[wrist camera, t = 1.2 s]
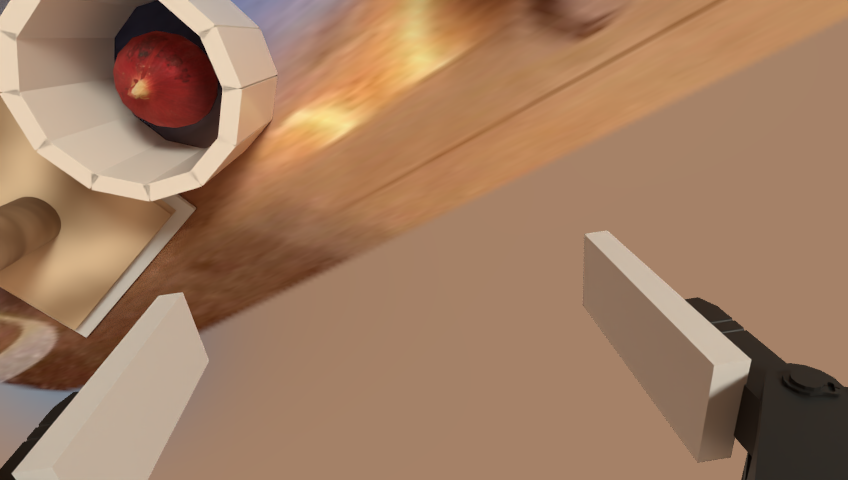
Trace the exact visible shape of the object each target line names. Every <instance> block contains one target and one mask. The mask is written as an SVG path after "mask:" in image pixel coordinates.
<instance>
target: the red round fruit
mask: <svg viewBox="0 0 848 480" xmlns="http://www.w3.org/2000/svg"><path fill="white" fill-rule="evenodd" d="M113 75H114V81H115V88H116V90H117V92H118V94H119V96H120V98H121V100H122V102H123V104H124V105H125V106H126V107H128V108H129V109H130V110H131V111H132V112H133V113H134V114H135V115H136V116H138V117H140V118H142V119H144V120H146V121H148V122H150V123H152V124H154V125H156V126H165V127H173V128H179V127H183V126H187V125H191V124H195V123H197V122H198V121H199V120H201V119H202V118H203V117H205V116H206V115H207V114H208V113H209V112H210V110H211V108H212V106H213V104H214V102H215V99H216V97H217V89H218V79H217V76H216V73H215V70H214V68H213V66H212V63H211V61H210V60H209V59H208V57H207V56H206V55H205V53H204V52H203V51H202V49H201V48H200V47H198V46H197V45H195V44H194V43H192V42H191V41H189V40H188V39H186V38H185V37H183V36H181V35H178V34H173V33H167V32H162V31H153V32H149V33H146V34H143V35H140V36H137V37H133V38H132V39H131V40H130V41H129V42H128V43H127V44H126V46H125V47H124V48H123V49H122V50H121V51H120V52H119V53H118V55H117V58H116V62H115V65H114V68H113Z"/></svg>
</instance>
